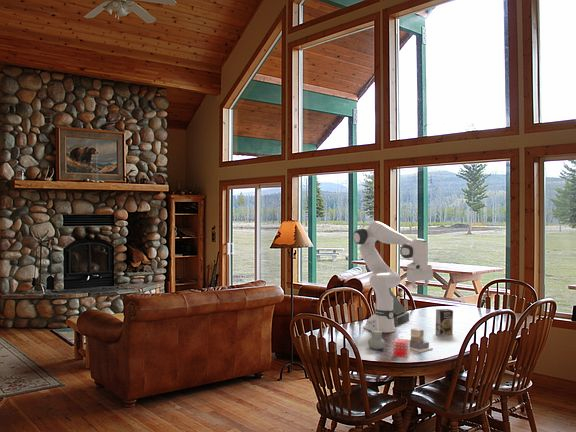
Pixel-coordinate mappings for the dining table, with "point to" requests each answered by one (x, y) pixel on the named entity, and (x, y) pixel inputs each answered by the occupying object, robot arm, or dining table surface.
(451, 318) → the coffee box
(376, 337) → the air freshener
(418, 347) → the socket board
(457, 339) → the dining table surface
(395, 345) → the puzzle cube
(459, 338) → the dining table surface
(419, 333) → the banded block
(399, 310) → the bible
